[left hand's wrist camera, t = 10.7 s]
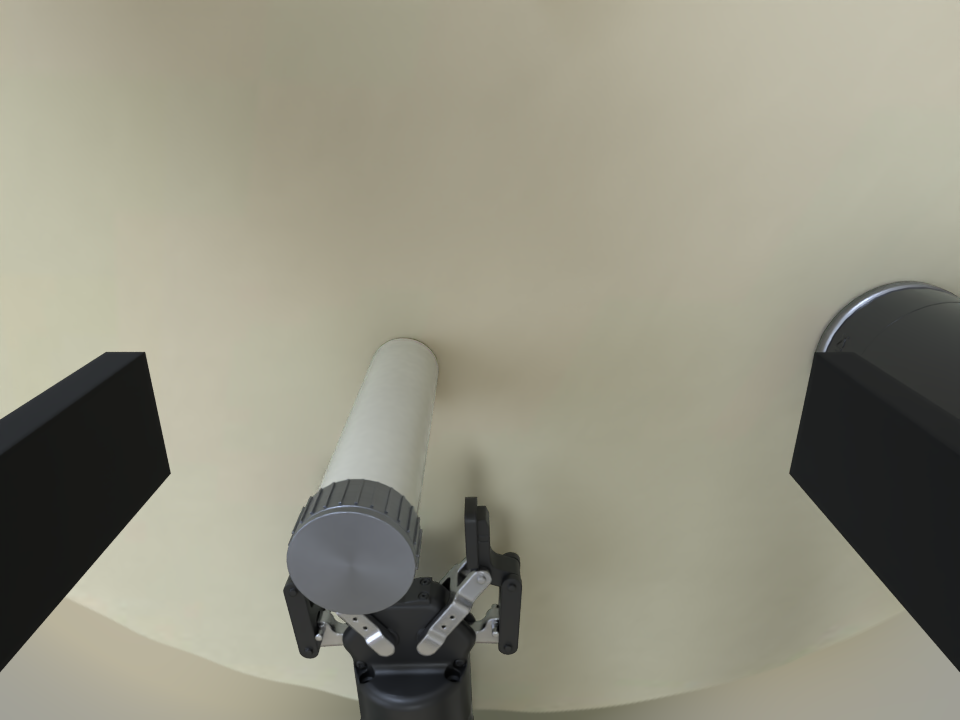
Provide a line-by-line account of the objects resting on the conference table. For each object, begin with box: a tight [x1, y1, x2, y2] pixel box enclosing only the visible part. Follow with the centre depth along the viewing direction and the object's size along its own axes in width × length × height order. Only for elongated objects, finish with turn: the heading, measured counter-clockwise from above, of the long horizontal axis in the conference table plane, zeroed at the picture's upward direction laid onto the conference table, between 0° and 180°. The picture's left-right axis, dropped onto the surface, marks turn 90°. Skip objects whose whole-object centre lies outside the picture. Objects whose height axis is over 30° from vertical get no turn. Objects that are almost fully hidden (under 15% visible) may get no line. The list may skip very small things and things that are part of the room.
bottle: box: [317, 338, 439, 516], centre depth 31 cm, size 4×4×18 cm
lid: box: [287, 479, 422, 615], centre depth 24 cm, size 5×5×2 cm
